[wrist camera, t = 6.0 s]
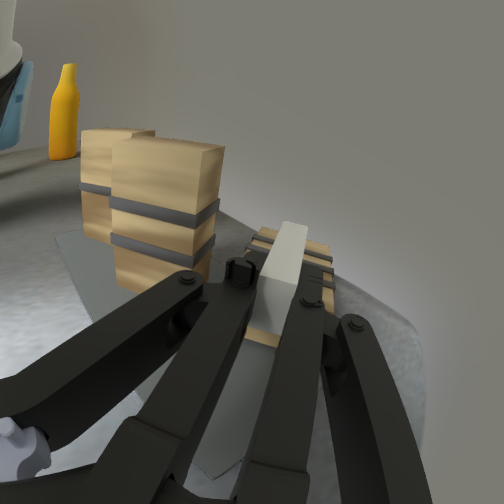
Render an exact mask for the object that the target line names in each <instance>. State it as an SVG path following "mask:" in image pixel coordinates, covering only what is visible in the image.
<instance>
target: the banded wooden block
mask: <svg viewBox="0 0 504 504" xmlns="http://www.w3.org/2000/svg"><path fill="white" fill-rule="evenodd" d="M142 136H149V137H155V130H144V129H128V128H100V129H92V130H85V131H82V136H81V182H79V190H81V198H82V215H83V227H84V236H86V237H89V238H92V239H95V240H98V241H101V242H104V243H107V244H110V245H113V244H111V241H110V233H111V232H113V231H112V208H109V196H110V195H111V174H112V147H113V141H117V140H122V139H129V138H135V137H142Z"/></svg>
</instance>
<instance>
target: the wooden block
mask: <svg viewBox="0 0 504 504" xmlns="http://www.w3.org/2000/svg"><path fill="white" fill-rule="evenodd" d="M224 150H225V146H221V145H213V144H207V143H200V142H193V141H186V140H177V139H169V138H159V137H149V136H142V137H135V138H129V139H122V140H117V141H113V147H112V174H111V195H110V196H109V208H112V231H113V232H111V233H110V241H111V244H113V247H114V259H115V270H116V279H117V285H118V286H120V287H123V288H125V289H128V290H130V291H133V292H135V293H138V294H141V293H142V292H144V291H146V290H147V289H149V288H150V287H152V286H154V285H155V284H157V283H159V282H160V281H162V280H163V279H165V278H167V277H168V276H170V275H172V274H173V273H175V272H177V271H180V270H192V271H195V272H198V273H199V274H201V275H202V277H203V278H204V282H206V283H208V279H209V269H210V259H211V250H212V247H213V246H214V244H215V236H216V234H213V232H214V224H215V216H216V212H217V211H218V210H219V204H220V199H219V198H218V192H219V185H220V177H221V170H222V163H223V157H224Z"/></svg>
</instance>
